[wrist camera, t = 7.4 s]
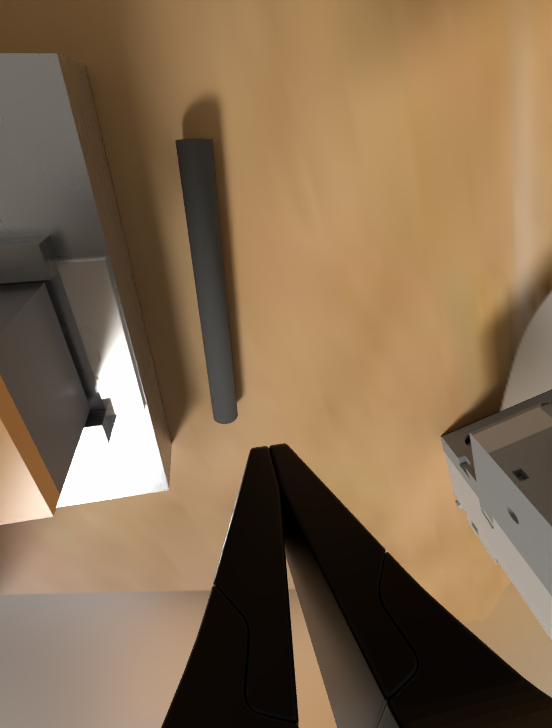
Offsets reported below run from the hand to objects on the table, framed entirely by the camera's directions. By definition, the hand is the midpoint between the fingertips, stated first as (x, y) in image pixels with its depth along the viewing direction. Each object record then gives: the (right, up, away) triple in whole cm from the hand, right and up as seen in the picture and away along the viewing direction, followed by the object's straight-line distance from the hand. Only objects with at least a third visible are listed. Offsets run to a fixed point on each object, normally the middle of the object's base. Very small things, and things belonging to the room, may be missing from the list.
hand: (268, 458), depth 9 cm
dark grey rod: (-3, +5, +8) cm, 9 cm away
